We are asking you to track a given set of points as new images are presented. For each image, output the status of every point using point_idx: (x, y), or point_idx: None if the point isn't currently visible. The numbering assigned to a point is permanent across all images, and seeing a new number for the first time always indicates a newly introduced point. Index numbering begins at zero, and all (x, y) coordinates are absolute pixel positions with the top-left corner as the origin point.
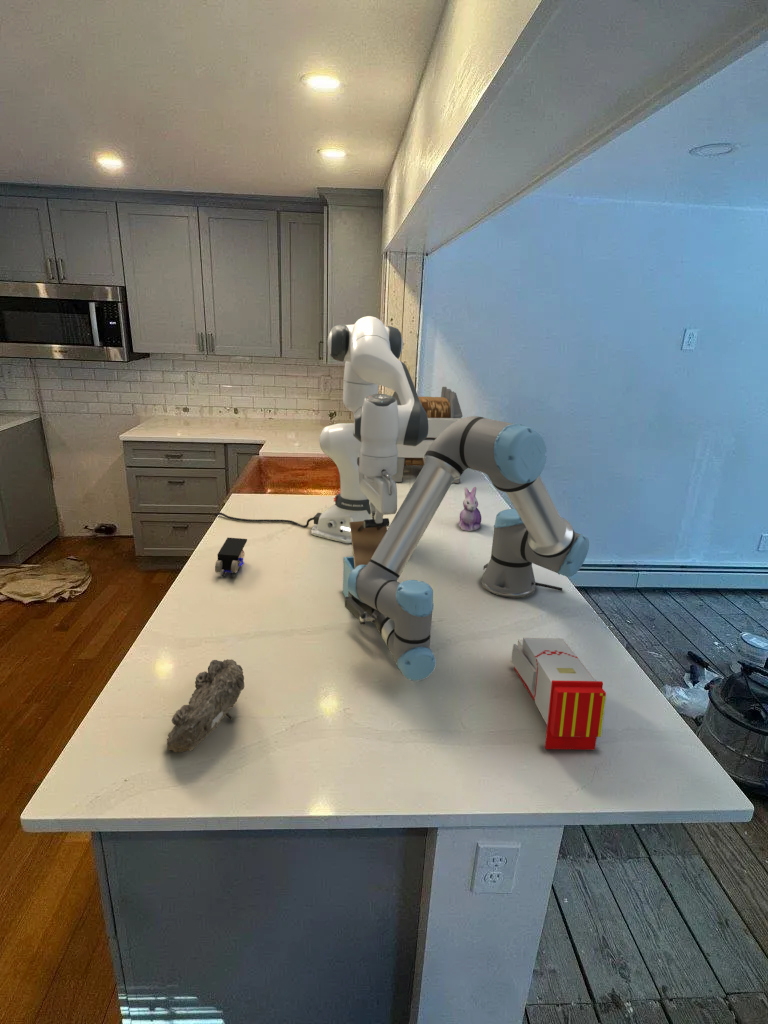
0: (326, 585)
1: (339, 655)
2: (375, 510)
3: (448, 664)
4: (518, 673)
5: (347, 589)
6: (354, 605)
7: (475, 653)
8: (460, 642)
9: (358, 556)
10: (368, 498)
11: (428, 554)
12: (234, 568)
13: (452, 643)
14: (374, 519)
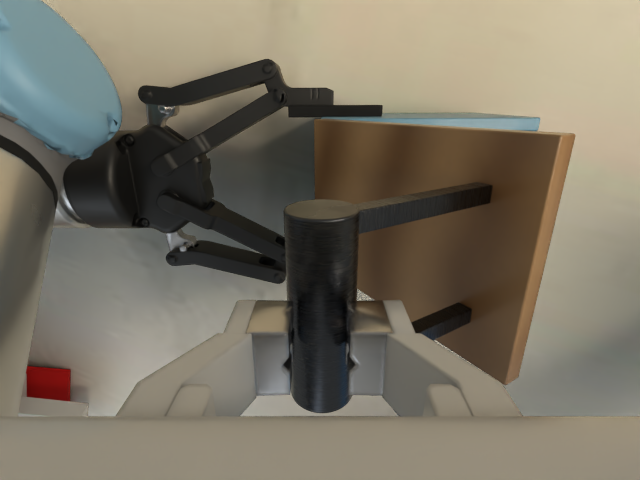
0: (540, 69)
1: (135, 16)
2: (390, 377)
3: (89, 265)
4: (34, 369)
5: (426, 114)
6: (209, 80)
7: (127, 328)
8: (169, 317)
9: (366, 145)
10: (432, 438)
11: (594, 402)
12: None
13: (167, 301)
14: (272, 307)
